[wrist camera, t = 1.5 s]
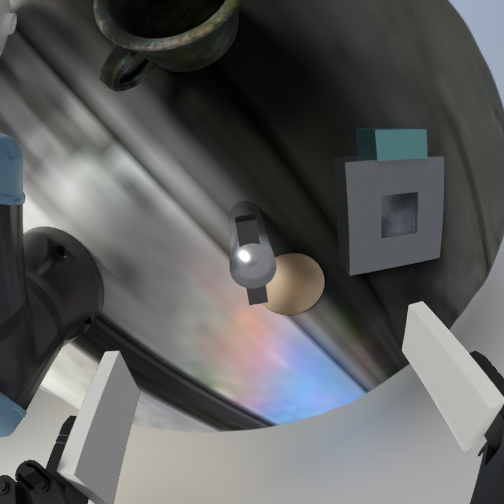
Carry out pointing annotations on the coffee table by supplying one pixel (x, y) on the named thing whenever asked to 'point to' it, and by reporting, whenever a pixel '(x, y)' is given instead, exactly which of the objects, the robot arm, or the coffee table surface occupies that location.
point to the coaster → (294, 284)
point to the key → (250, 252)
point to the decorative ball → (6, 23)
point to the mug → (163, 36)
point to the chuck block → (388, 200)
